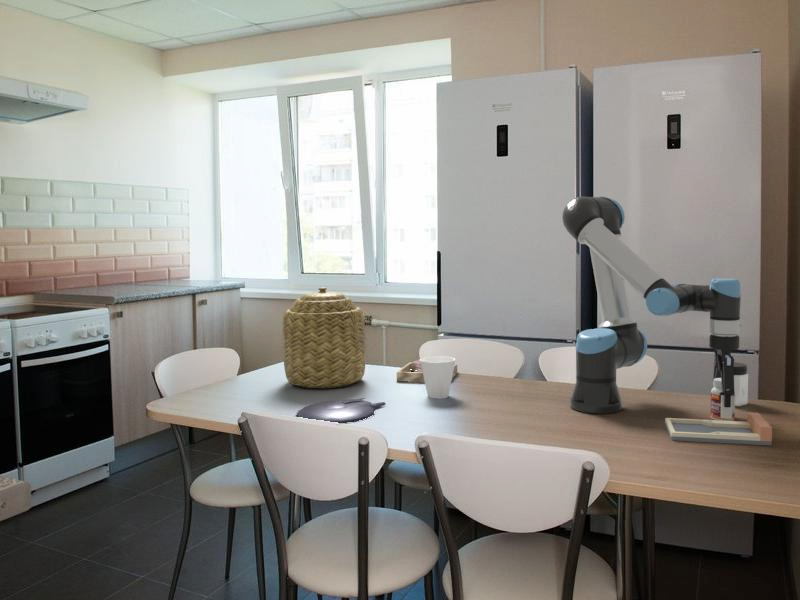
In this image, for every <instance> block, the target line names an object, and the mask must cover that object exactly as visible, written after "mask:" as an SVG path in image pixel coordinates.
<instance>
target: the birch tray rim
mask: <svg viewBox="0 0 800 600" xmlns="http://www.w3.org/2000/svg"><path fill="white" fill-rule="evenodd" d="M410 369H412V370H410ZM415 370H417V368H416V365H415V364H414V361H413V362H408V363H406V364H405V365H404V366H403V367H401V368H400V369H399V370H397V371H396V382H397V381H408V382H407V383H422V384H423V383H424V384H425V381H424V376H423V372H417V371H415ZM411 371H414V372H411ZM457 374H458V363H455V365H454V370H453V375H452V379H453V378H454V377H455V376H456V375H457Z"/></svg>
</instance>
